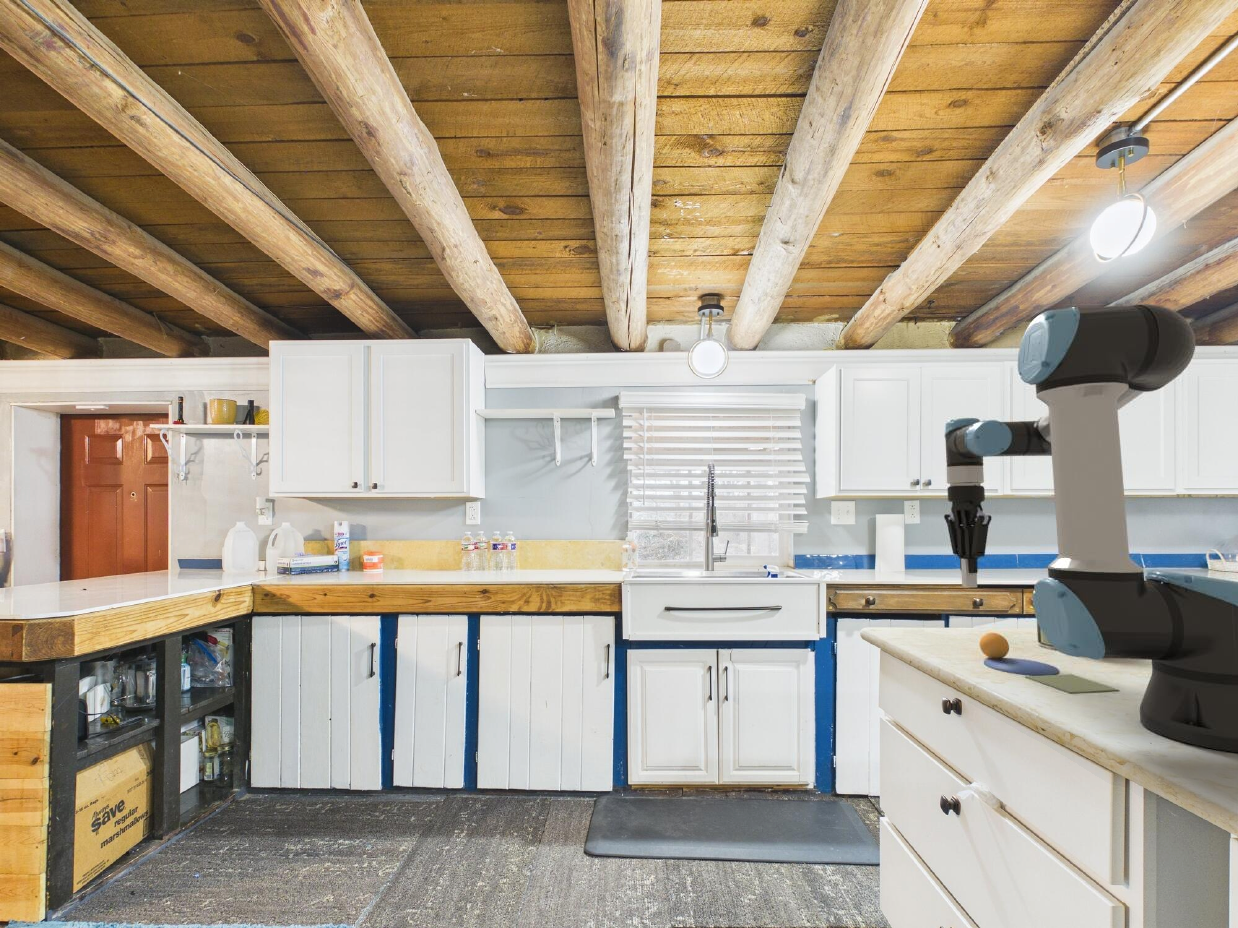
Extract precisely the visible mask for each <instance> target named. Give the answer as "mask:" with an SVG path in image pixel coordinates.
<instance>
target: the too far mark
mask: <svg viewBox="0 0 1238 928" xmlns="http://www.w3.org/2000/svg"><path fill="white" fill-rule="evenodd" d="M1024 676H1025V678H1026V679H1028V680H1031V681H1034V682H1037V683H1040V684H1043V685H1045V686H1048V687H1051V688H1054V689H1056V690H1060V691H1062V692H1065V693H1067V694H1082V693H1083V694H1087V693H1103V692H1120V691H1121V690H1120V688H1115V687H1112V686H1110V685H1107V684H1102V683H1099V682H1096V681H1095V680H1090V679H1087V678H1085V677H1081V676H1079V675H1075V674H1072V673H1069V674H1055V675H1044V676H1034V675H1024Z"/></svg>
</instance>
